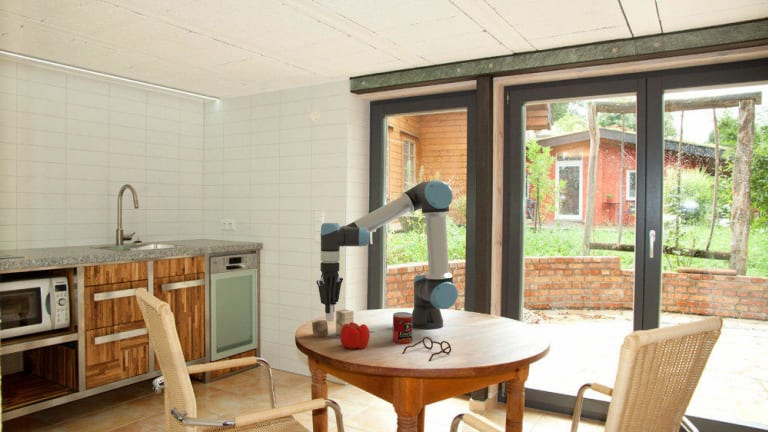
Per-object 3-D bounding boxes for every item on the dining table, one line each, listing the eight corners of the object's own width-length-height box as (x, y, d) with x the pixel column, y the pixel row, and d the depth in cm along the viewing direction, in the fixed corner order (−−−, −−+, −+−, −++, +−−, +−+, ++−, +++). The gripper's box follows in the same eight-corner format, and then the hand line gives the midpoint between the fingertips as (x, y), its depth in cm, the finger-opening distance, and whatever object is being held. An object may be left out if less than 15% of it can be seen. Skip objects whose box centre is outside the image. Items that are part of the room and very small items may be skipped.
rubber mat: (375, 332, 219) (375, 331, 219) (344, 341, 204) (344, 340, 204) (355, 328, 226) (355, 327, 226) (324, 336, 211) (324, 335, 211)
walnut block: (328, 334, 212) (327, 320, 213) (322, 337, 208) (321, 322, 208) (318, 334, 214) (317, 320, 214) (313, 337, 210) (311, 322, 210)
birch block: (353, 335, 213) (353, 310, 212) (344, 337, 209) (345, 312, 208) (344, 333, 216) (344, 309, 216) (335, 335, 212) (336, 311, 212)
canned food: (398, 345, 199) (399, 316, 199) (389, 340, 206) (389, 312, 206) (415, 342, 203) (416, 315, 203) (405, 338, 210) (406, 311, 210)
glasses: (451, 355, 188) (452, 341, 188) (429, 362, 178) (429, 348, 178) (424, 348, 197) (424, 335, 197) (400, 355, 188) (401, 341, 188)
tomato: (333, 348, 194) (334, 324, 194) (355, 342, 203) (356, 319, 203) (354, 353, 187) (354, 329, 187) (376, 347, 196) (376, 323, 196)
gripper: (334, 259, 212) (334, 317, 213) (311, 262, 202) (311, 322, 202) (348, 261, 208) (347, 319, 208) (324, 263, 197) (324, 325, 198)
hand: (329, 320), depth 205 cm, fingers closed
